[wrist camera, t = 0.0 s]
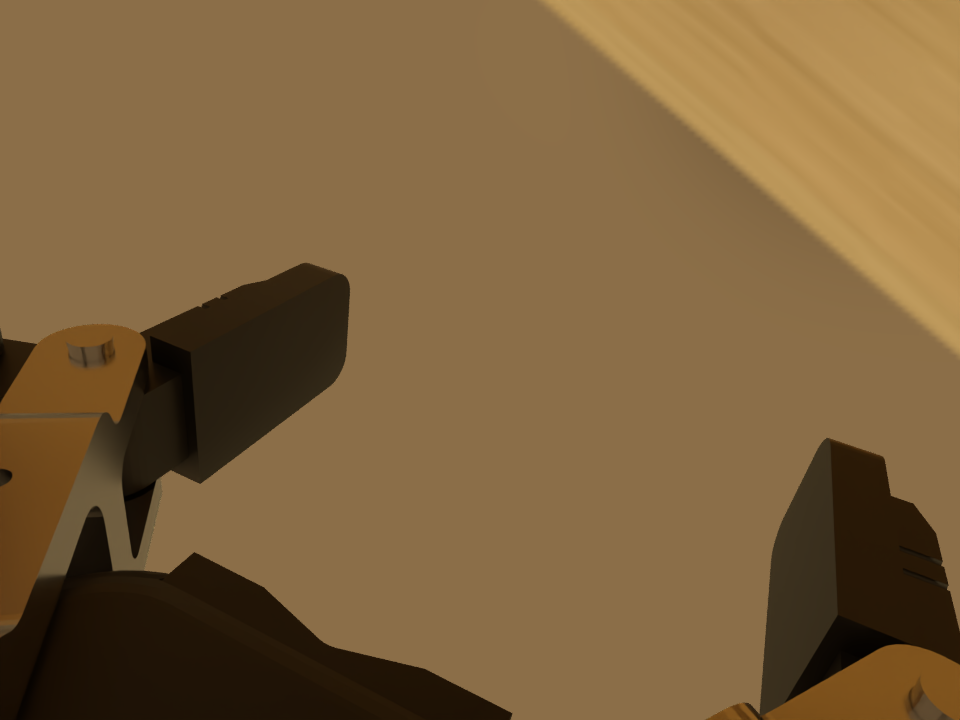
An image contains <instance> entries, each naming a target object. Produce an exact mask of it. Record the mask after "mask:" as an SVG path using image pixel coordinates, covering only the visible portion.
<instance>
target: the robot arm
mask: <svg viewBox="0 0 960 720" xmlns="http://www.w3.org/2000/svg"><path fill="white" fill-rule="evenodd" d="M349 297H350V286H349V282H348V280H347V278H346V277H345V276H344V275H342V274H339V273H336V272H333V271H330V270H327V269H324V268H321V267H318V266H315V265H312V264H310V263H303V264H300V265H298V266H296V267H294V268H291V269H289V270H287V271H285V272H283V273H281V274H279V275H277V276H274V277H272V278H270V279H268V280H266V281H261V282H256V283H251V284H247V285H243V286H240V287H238V288H236V289H234V290H232V291H229V292H227V293H225V294H223V295H221V298H220V299H219V298H214V299H212V300H210V301H208V302H206V303H204V304H202V307H198V306H197V307H195V308H193V309H191V310H189V311H186V312H184V313H182V314H180V315H178V316H175V317H173V318H171V319H169V320H167V321H165V322H162V323H160V324H158V325H156V326H154V327H152V328H150V329H147V330H145V331H143V332H141V333H138V332H136V331H134V330H132V329H129V328H127V327H123V326H118V325H110V324H91V325H82V326H76V327H71V328H67V329H63V330H61V331H57V332H55V333H53V334H50V335H49V336H47V337H45V338H44V339H42V340H41V341H40V342H39V343H38V344H33V343H27V342H21V341H13V340H8V339H2V335H1V331H0V720H511V717H512V713H511V712H508V711H506V710H505V709H503V708H501V707H499V706H497V705H495V704H493V703H491V702H489V701H487V700H485V699H483V698H481V697H479V696H477V695H475V694H473V693H471V692H469V691H467V690H465V689H463V688H461V687H459V686H457V685H455V684H453V683H451V682H449V681H447V680H446V679H443V678H442V677H439V676H438V675H436V674H434V673H432V672H430V671H428V670H426V669H423V668H418V667H414V666H410V665H406V664H401V663H397V662H393V661H389V660H385V659H380V658H376V657H372V656H368V655H363V654H359V653H355V652H351V651H346V650H342V649H338V648H334V647H331V646H329V645H327V644H325V643H323V642H322V641H321V640H319V639H318V638H317V637H316V636H315V635H314V634H313V633H312V632H311V631H310V630H309V629H308V628H307V627H306V626H305V625H303V624H302V623H301V622H300V621H299V620H298V619H297V618H296V617H295V616H294V615H293V614H292V613H291V612H289V611H288V610H287V609H286V608H285V607H284V606H283V605H282V604H281V603H280V602H279V601H278V600H277V599H276V598H274V597H273V596H272V595H271V594H270V593H269V592H268V591H267V590H266V589H265V588H264V587H262V586H260V585H258V584H256V583H254V582H252V581H250V580H248V579H246V578H244V577H242V576H240V575H238V574H236V573H234V572H232V571H230V570H228V569H226V568H224V567H222V566H220V565H219V564H217V563H215V562H213V561H210V560H209V559H207V558H205V557H203V556H201V555H199V554H197V553H195V552H194V553H193V554H192V555H190V556H189V557H188V558H187V559H186V560H185V561H184V562H182V563H181V564H180V565H179V566H178V567H176V568H175V569H174V570H173V571H172V572H171V573H169V574H167V573H159V572H150V571H144V570H145V565H146V561H147V557H148V552H149V548H150V543H151V539H152V534H153V531H154V526H155V521H156V517H157V513H158V509H159V504H160V500H161V496H162V485H161V477H162V476H163V475H164V474H166V473H167V472H169V471H170V470H172V471H174V472H176V473H178V474H180V475H182V476H184V477H187V478H189V479H191V480H193V481H195V482H197V483H200V484H201V483H202V482H203V481H205V480H206V479H207V478H209V477H210V476H211V475H213V474H214V473H215V472H217V471H218V470H219V469H220V468H222V467H223V466H225V465H226V464H227V463H228V462H230V461H231V460H233V459H234V458H235V457H237V456H238V455H239V454H241V453H242V452H243V451H245V450H246V449H247V448H249V447H250V446H251V445H252V444H254V443H255V442H256V441H258V440H259V439H260V438H262V437H263V436H264V435H266V434H267V433H268V432H269V431H271V430H272V429H274V428H275V427H276V426H278V425H279V424H280V423H282V422H283V421H284V420H286V419H287V418H288V417H290V416H291V415H292V414H294V413H295V412H296V411H298V410H299V409H300V408H301V407H303V406H304V405H306V404H307V403H308V402H309V401H311V400H312V399H313V398H315V397H316V396H317V395H319V394H320V393H321V392H323V391H324V390H325V389H327V388H328V387H329V386H331V385H332V384H333V383H334V382H335V380H336V379H337V378H338V376H339V374H340V372H341V370H342V368H343V365H344V362H345V357H346V348H347V331H348V314H349ZM942 562H943V561H942V557H941V552H940V548H939V544H938V540H937V536H936V533H935V532H934V530H933V529H932V528H931V526H930V525H929V524H928V522H927V521H926V520H925V518H924V517H923V516H922V514H921V513H920V512H919V511H918V509H917V508H916V507H915V505H914V504H913V503H910V502H907V501H904V500H901V499H898V498H895V497H892V496H891V494H890V488H889V482H888V477H887V471H886V464H885V460H884V458H883V457H882V456H880V455H877V454H874V453H871V452H868V451H865V450H862V449H859V448H856V447H853V446H850V445H847V444H844V443H841V442H838V441H835V440H832V439H829V438H826V439H825V440H824V441H823V442H822V443H821V445H820V446H819V448H818V450H817V452H816V454H815V456H814V458H813V460H812V462H811V464H810V466H809V468H808V470H807V472H806V474H805V476H804V478H803V480H802V482H801V484H800V486H799V488H798V490H797V492H796V494H795V496H794V498H793V500H792V502H791V504H790V506H789V508H788V510H787V512H786V514H785V517H784V518H783V521H782V523H781V525H780V528H779V531H778V534H777V537H776V540H775V543H774V547H773V552H772V559H771V570H770V584H769V597H768V610H767V623H766V636H765V649H764V663H763V675H762V689H761V703H760V715H759V713H758V712H757V711H756V710H755V709H754V708H753V707H752V706H751V704H749V703H739V704H736V705H733V706H730V707H728V708H726V709H724V710H722V711H720V712H719V713H717V714H715V715H713V716H711V717H710V718H708V719H706V720H960V631H959V627H958V623H957V619H956V614H955V610H954V606H953V602H952V598H951V594H950V591H948V590H947V587H948V581H947V577H946V573H945V569H944V567H943V566H941V564H942Z"/></svg>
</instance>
